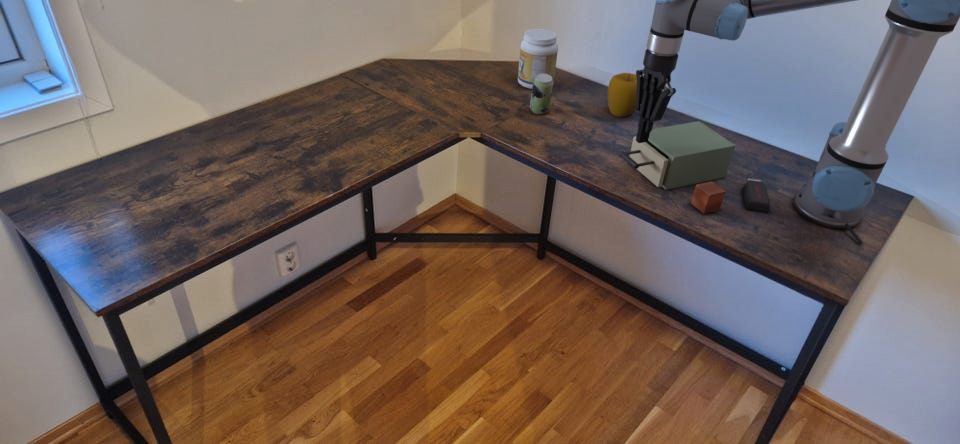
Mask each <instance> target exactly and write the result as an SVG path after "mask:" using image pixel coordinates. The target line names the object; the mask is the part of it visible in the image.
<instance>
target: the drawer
mask: <svg viewBox="0 0 960 444" xmlns="http://www.w3.org/2000/svg"><path fill="white" fill-rule="evenodd" d="M636 137H637V135H635V136H633V139H632V143H631V149H630V150H629V151H623V150H622V151H620V152H619V153H618V154H619V156H620V157H621V158H622V160H623V161H625V162H627V164H629V165H630V166H631V167H632V168H633V169H635V170H637V171H638V172H639V173H640V174H642V176H644V177H645V178H646V179H648V181H650V182H651V183H652V184H653V185H655V187H657V188H662V183H663V182H664V183H665V182H666V178H667V174H668V170H669V166H670V162H671V158H670V157H669V156H667V155H666V154H665V153H664V152H662V151H661V150H660V149H658V148H657V147H656V146H655V145H653V144H652V143H651V142H649V141H648V142H644V143H638V142H637V141H636Z"/></svg>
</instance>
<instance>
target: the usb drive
mask: <svg viewBox="0 0 960 444" xmlns="http://www.w3.org/2000/svg"><path fill="white" fill-rule="evenodd" d="M742 193H743V198H744V204H745V209H747V210H751V211H759V212H764V213H769V211H770V208H771V201H770V197H769V194H768V189H767V186H766V185H765V184H764V182H763V181H762V180H760V179H754V178H747V179H746V182H745V184H744V186H743V190H742Z"/></svg>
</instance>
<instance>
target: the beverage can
mask: <svg viewBox="0 0 960 444" xmlns="http://www.w3.org/2000/svg"><path fill="white" fill-rule="evenodd" d="M553 88H554V83H553V80H552V77H551V76H550V75H548V74H544V73H541V74H538V75H537V76H536V77H535V78H534V80H533V87H532V89H531V95H530V101H529V110H530V111H531V112H532V113H534V114H537V115H544V114H546V113H548V112H549V111H550V107H551V100H552V94H553Z"/></svg>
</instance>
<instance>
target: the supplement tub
mask: <svg viewBox="0 0 960 444" xmlns="http://www.w3.org/2000/svg"><path fill="white" fill-rule="evenodd" d="M557 36H558V35H557V33H556V32H554V31H553V30H550V29H546V28H530V29H529V28H528V29H526V30H525V31H524V35H523V40H522V41H521V43H520V48H519V57H518V58H519V59H518V61H519V62H518V69H517V70H518V72H517V82H518V84H519V85H521V86H522V87H524V88H527V89H531V90H532V87H533V80H534V78H535V77H536V76H537V75H538V74H541V73H544V74H548V75H550V76H551V77H552V80H553V84H554V83H555V74H556V68H557V60H558V54H559V53H558V52H559V45H558V43H557V40H558V39H557V38H558V37H557Z"/></svg>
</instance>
